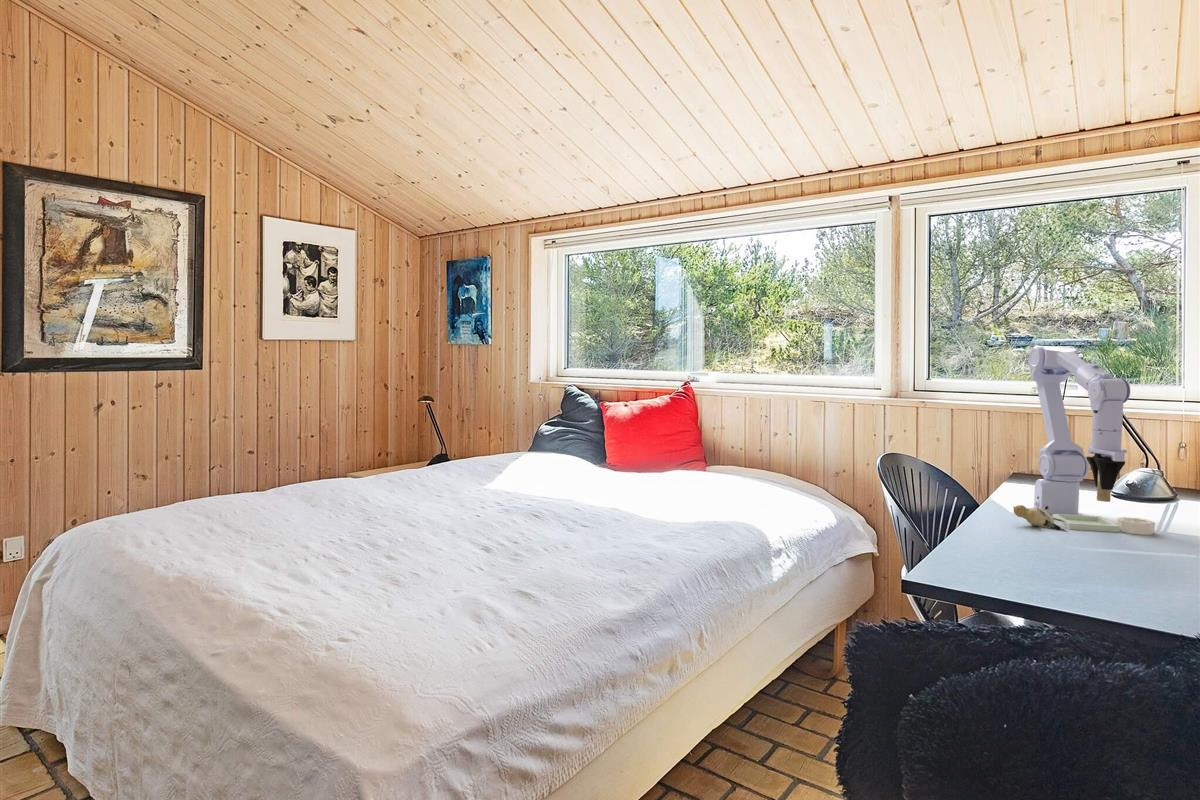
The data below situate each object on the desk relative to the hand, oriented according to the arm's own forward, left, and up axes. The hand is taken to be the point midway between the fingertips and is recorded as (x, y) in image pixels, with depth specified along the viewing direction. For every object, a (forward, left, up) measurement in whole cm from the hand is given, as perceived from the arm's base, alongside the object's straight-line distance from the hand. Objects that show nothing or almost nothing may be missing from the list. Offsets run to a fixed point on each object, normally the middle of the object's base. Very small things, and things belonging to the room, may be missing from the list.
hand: (1104, 488), depth 170 cm
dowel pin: (0, 0, -3) cm, 3 cm away
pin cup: (+6, -2, -10) cm, 11 cm away
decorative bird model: (-13, -3, -10) cm, 17 cm away
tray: (-3, +1, -10) cm, 10 cm away
